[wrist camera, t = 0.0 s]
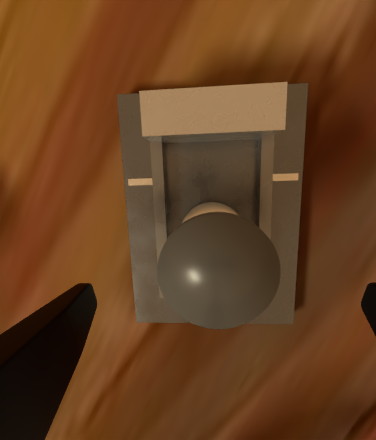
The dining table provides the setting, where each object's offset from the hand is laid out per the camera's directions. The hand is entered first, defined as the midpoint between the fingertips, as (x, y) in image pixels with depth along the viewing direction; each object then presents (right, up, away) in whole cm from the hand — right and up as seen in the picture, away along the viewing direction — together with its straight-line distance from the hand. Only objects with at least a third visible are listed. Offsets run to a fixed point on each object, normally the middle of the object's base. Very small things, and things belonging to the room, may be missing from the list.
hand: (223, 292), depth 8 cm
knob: (+1, +1, +14) cm, 14 cm away
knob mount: (+1, +3, +15) cm, 15 cm away
